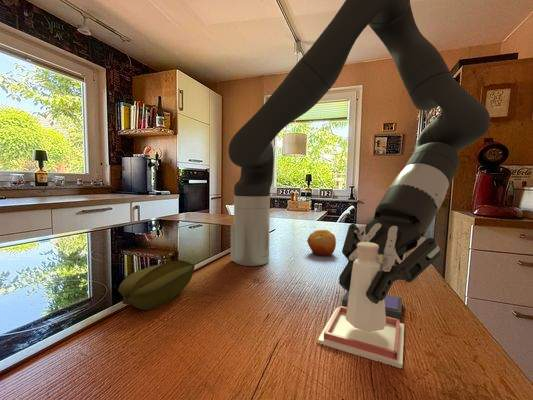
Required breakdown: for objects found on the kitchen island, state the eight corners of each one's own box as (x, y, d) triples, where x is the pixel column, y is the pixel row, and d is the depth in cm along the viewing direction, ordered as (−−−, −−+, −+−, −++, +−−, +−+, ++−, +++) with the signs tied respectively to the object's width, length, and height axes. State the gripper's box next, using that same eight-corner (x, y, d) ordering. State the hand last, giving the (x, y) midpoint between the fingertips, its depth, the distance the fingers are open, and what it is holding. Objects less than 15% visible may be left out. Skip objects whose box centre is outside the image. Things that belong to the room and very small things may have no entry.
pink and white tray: (317, 343, 36) (318, 333, 36) (336, 310, 45) (336, 303, 44) (402, 368, 31) (402, 358, 31) (404, 327, 40) (404, 318, 40)
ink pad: (341, 306, 46) (342, 298, 46) (348, 293, 51) (349, 286, 51) (400, 320, 42) (401, 311, 42) (401, 304, 47) (402, 296, 47)
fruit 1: (129, 290, 52) (128, 256, 51) (194, 284, 55) (194, 252, 55) (115, 321, 41) (114, 278, 40) (197, 310, 44) (197, 271, 44)
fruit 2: (337, 245, 82) (337, 225, 78) (335, 265, 76) (334, 245, 72) (311, 243, 85) (309, 223, 81) (306, 262, 79) (304, 242, 75)
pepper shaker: (342, 310, 41) (344, 238, 40) (380, 313, 40) (383, 239, 39) (348, 330, 35) (350, 248, 34) (392, 333, 35) (395, 249, 34)
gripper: (362, 182, 46) (306, 263, 41) (456, 183, 34) (394, 299, 29) (381, 211, 49) (331, 289, 44) (472, 221, 37) (419, 332, 32)
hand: (356, 292), depth 36 cm, fingers closed on pepper shaker, 4 cm apart
